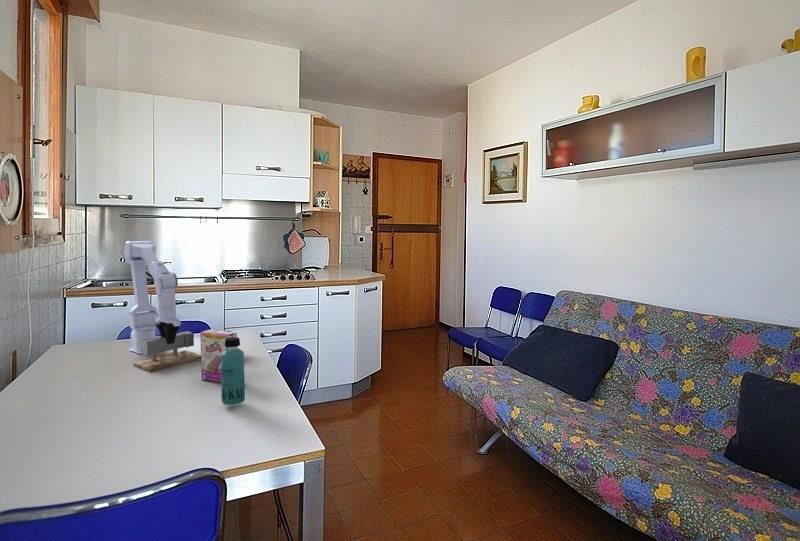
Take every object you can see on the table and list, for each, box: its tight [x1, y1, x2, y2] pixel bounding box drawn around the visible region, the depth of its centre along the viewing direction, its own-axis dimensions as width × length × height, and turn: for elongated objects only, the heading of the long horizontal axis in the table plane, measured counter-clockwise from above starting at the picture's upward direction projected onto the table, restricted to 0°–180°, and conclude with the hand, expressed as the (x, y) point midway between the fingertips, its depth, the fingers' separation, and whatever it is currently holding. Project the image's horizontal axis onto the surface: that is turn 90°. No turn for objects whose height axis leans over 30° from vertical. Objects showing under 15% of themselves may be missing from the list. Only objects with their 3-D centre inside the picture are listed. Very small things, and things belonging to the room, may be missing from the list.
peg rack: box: [132, 349, 201, 373], centre depth 172 cm, size 12×20×4 cm, turn 145°
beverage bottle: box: [220, 336, 246, 406], centre depth 132 cm, size 6×7×20 cm
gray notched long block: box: [140, 330, 195, 356], centre depth 172 cm, size 17×4×5 cm, turn 144°
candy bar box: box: [199, 329, 238, 384], centre depth 153 cm, size 11×5×16 cm, turn 71°
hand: (168, 342), depth 172 cm, fingers closed on gray notched long block, 3 cm apart
